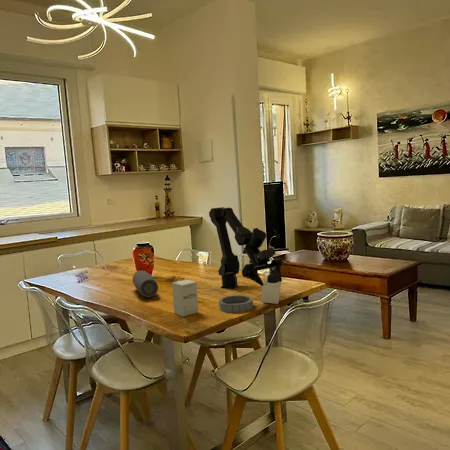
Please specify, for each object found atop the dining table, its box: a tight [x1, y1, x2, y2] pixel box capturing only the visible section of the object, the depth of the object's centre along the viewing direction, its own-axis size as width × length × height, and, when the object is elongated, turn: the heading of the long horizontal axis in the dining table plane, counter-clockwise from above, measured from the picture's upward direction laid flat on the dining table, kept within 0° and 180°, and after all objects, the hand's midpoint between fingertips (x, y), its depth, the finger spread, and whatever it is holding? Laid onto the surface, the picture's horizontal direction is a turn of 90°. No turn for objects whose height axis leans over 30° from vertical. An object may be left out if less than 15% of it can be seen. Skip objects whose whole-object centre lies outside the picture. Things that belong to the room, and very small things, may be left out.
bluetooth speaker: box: [132, 270, 159, 298], centre depth 205 cm, size 23×9×10 cm, turn 21°
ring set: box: [75, 261, 110, 284], centre depth 246 cm, size 25×12×12 cm, turn 144°
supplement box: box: [171, 279, 199, 317], centre depth 171 cm, size 7×7×13 cm
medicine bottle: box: [260, 270, 282, 305], centre depth 179 cm, size 7×7×12 cm
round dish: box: [218, 294, 254, 314], centre depth 175 cm, size 14×14×3 cm
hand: (272, 283), depth 178 cm, fingers closed on medicine bottle, 9 cm apart
